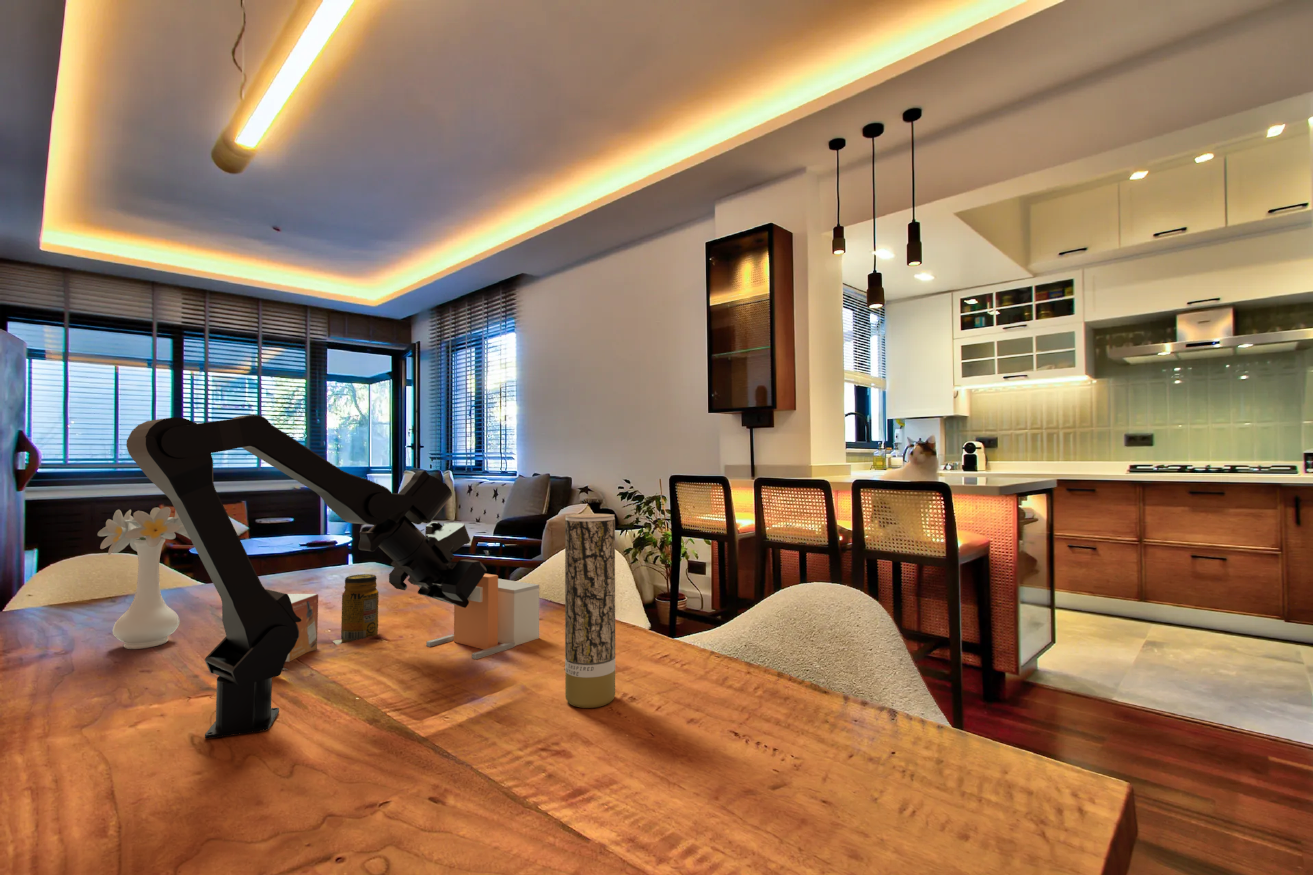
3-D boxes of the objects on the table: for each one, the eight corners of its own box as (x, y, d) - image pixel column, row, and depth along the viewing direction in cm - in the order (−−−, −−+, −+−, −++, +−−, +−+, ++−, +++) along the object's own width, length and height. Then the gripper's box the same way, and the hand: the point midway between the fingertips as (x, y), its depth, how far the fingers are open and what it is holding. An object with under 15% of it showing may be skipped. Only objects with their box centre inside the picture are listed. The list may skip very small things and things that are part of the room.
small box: (289, 671, 96) (290, 603, 96) (253, 671, 96) (255, 603, 96) (318, 655, 104) (319, 592, 104) (285, 655, 104) (287, 593, 104)
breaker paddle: (485, 651, 100) (486, 577, 101) (451, 642, 106) (452, 572, 106) (497, 647, 102) (498, 575, 103) (463, 639, 108) (464, 570, 108)
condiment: (374, 634, 116) (375, 571, 117) (387, 644, 110) (388, 577, 110) (332, 642, 112) (333, 576, 112) (343, 653, 105) (344, 582, 106)
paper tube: (607, 711, 79) (607, 517, 80) (557, 707, 80) (558, 517, 82) (621, 692, 86) (620, 513, 87) (574, 689, 87) (574, 513, 88)
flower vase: (147, 631, 120) (151, 503, 121) (213, 639, 114) (217, 504, 115) (65, 650, 108) (70, 507, 109) (134, 660, 102) (139, 509, 103)
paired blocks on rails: (448, 679, 92) (448, 606, 92) (394, 662, 100) (395, 595, 100) (544, 646, 108) (544, 584, 108) (492, 634, 116) (492, 577, 116)
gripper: (477, 509, 94) (530, 571, 103) (406, 505, 105) (459, 562, 113) (431, 568, 87) (492, 629, 96) (361, 557, 98) (421, 613, 106)
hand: (466, 605), depth 103 cm, fingers closed
